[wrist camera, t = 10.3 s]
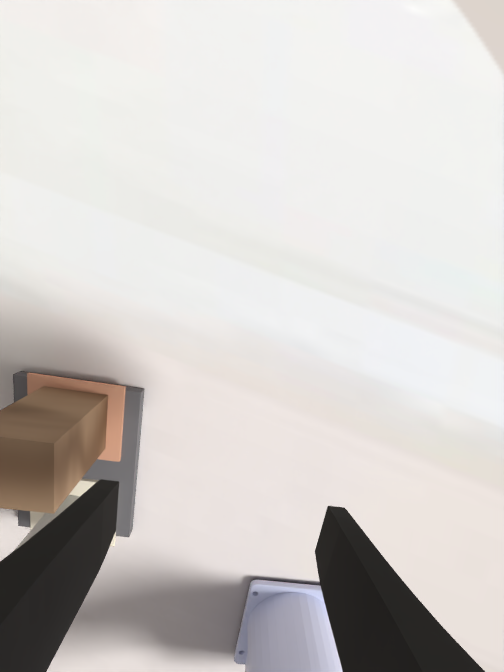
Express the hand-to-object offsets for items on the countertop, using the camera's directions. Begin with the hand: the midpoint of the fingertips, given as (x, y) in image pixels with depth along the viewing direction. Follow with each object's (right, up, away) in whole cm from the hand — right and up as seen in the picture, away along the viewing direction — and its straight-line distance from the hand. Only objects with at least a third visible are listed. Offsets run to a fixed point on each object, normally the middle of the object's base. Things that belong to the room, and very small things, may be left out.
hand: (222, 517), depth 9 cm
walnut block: (-11, +1, +8) cm, 14 cm away
